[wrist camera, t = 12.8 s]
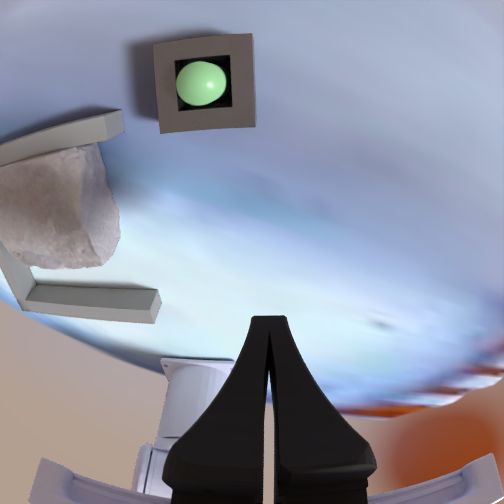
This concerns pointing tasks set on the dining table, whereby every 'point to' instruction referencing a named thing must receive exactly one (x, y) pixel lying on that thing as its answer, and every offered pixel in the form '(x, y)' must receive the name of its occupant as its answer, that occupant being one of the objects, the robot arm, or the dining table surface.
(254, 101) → the button box
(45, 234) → the stone block
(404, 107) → the dining table surface
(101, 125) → the corral
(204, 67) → the button
